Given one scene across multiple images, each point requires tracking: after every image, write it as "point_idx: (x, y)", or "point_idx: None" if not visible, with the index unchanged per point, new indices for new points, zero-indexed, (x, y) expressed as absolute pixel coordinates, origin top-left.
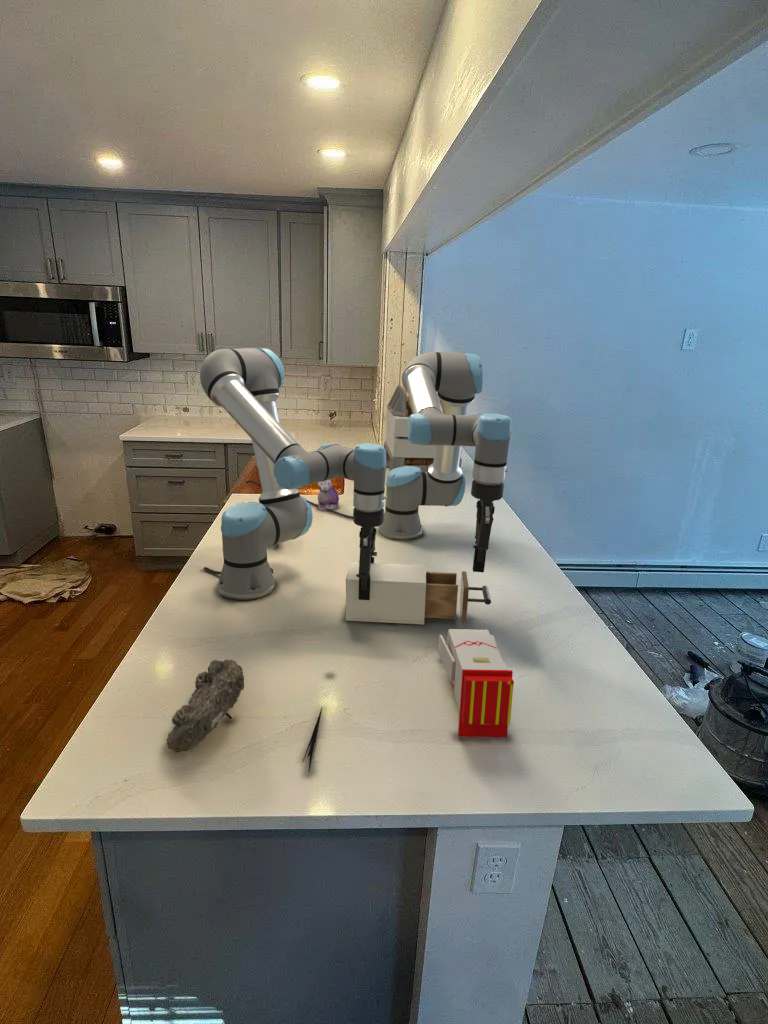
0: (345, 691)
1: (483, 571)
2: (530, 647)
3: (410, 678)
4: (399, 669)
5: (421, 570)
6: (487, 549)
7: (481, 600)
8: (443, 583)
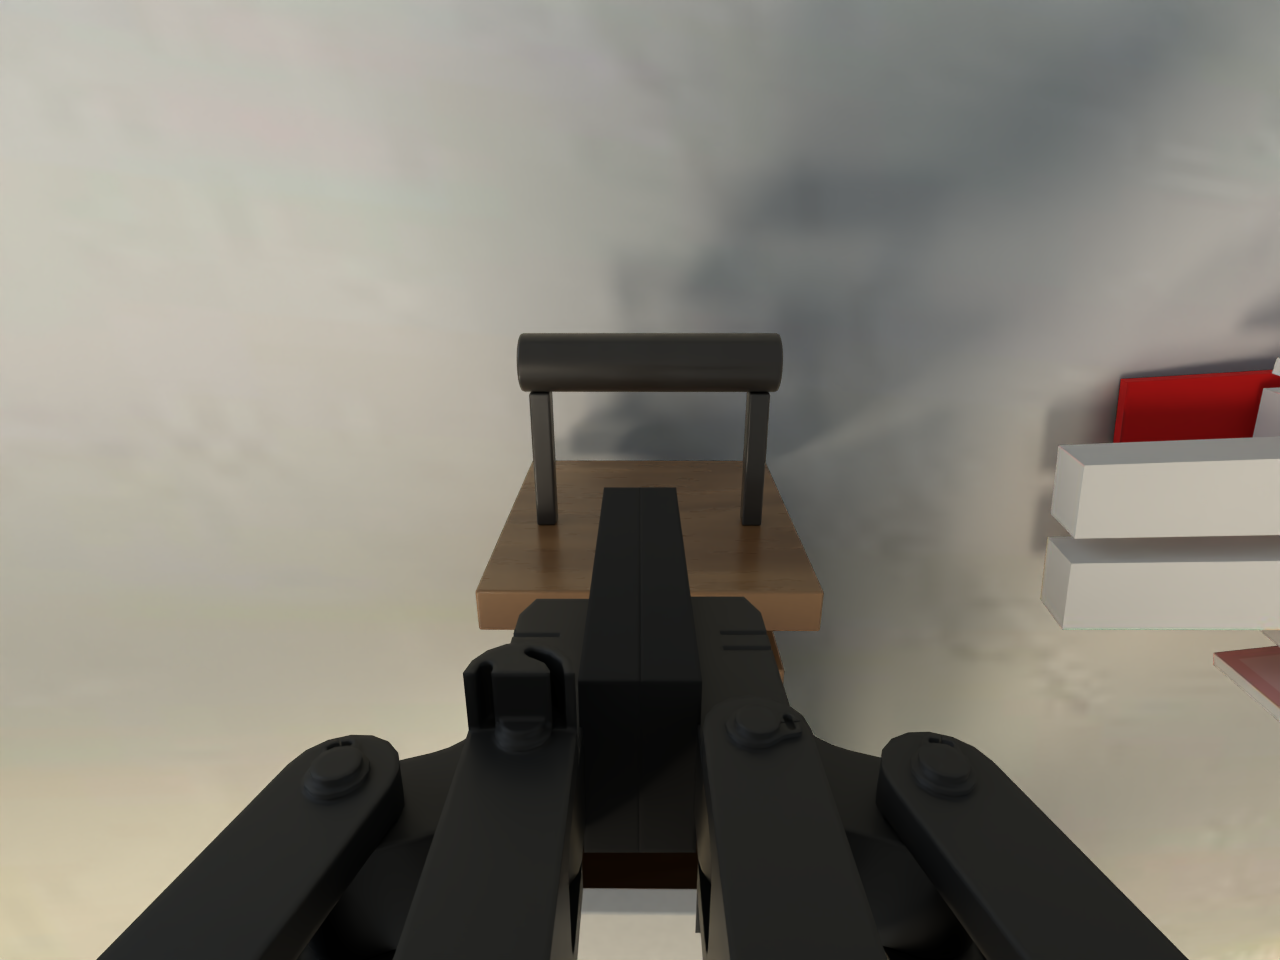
0: (1263, 924)
1: (676, 497)
2: (982, 15)
3: (1218, 718)
4: (1142, 760)
5: (587, 939)
6: (977, 756)
7: (768, 417)
8: None
